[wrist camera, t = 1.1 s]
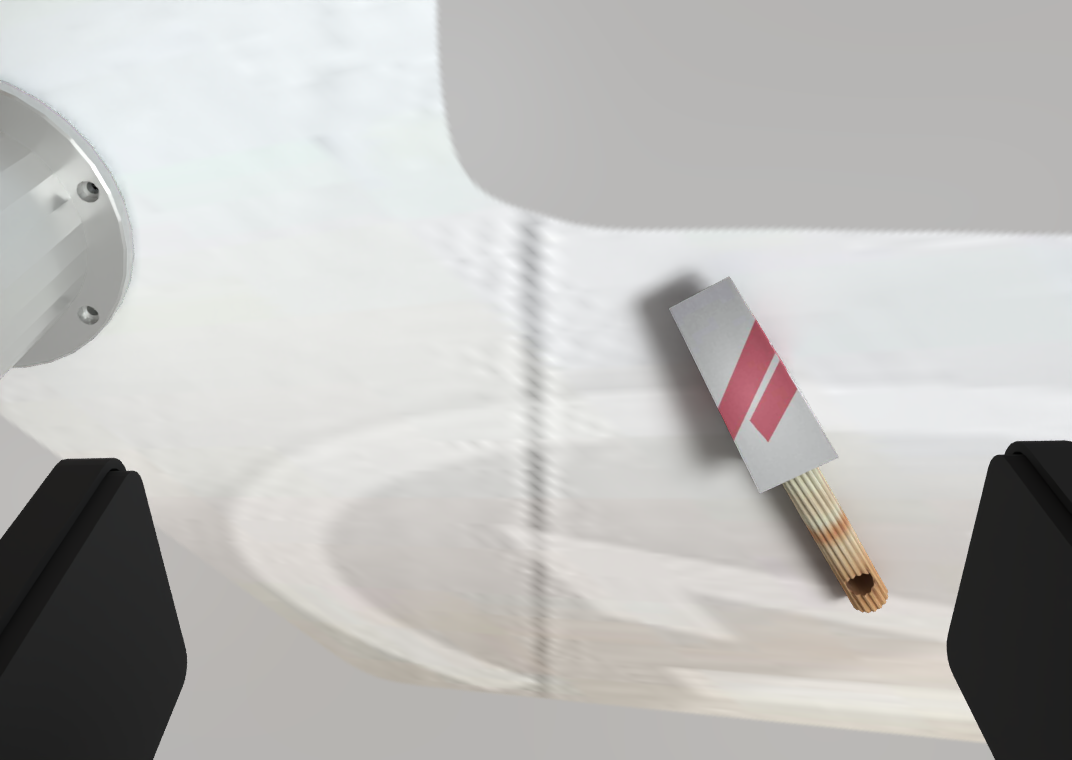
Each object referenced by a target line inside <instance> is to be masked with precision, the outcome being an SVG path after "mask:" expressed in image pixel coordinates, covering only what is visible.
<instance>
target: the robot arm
mask: <svg viewBox="0 0 1072 760" xmlns="http://www.w3.org/2000/svg"><path fill="white" fill-rule="evenodd" d="M91 183H93V184H95V186H96V187H97V188H98V190H96V189H94V188H93V187H92V185H91ZM133 261H134V245H133V233H132V226H131V222H130V219H129V215H128V212H127V208H126V204H125V201H124V198H123V196H122V194H121V192H120V190H119V188H118V186H117V184H116V182H115V180H114V178H113V176H112V174H111V172H110V170H109V169H108V168H107V166H106V165H105V163H104V162H103V161H102V159H101V158H100V156H99V155H98V153H97V152H96V151H95V149H94V148H93V146H92V145H91V144H90V143H89V142H88V141H87V140H86V139H85V138H84V137H83V136H82V135H81V134H80V133H79V132H78V131H77V130H76V129H75V128H74V127H73V126H72V125H71V124H70V123H69V122H68V121H67V120H66V119H65V118H63V117H62V116H61V115H59V114H58V113H57V112H55V111H54V110H53V109H51V108H50V107H49V106H47V105H46V104H45V103H43V102H42V101H41V100H39V99H37V98H36V97H34V96H32V95H30V94H28V93H26V92H24V91H22V90H21V89H19V88H17V87H15V86H13V85H11V84H9V83H7V82H4V81H1V80H0V379H1V378H2V377H3V376H4V375H5V374H6V373H7V372H8V371H9V370H10V369H11V368H26V367H31V366H36V365H41V364H45V363H50V362H53V361H55V360H58V359H60V358H63V357H65V356H67V355H70V354H72V353H74V352H76V351H77V350H78V349H80V348H81V347H83V346H84V345H86V344H87V343H88V342H90V341H91V340H93V339H94V338H95V337H96V336H97V335H98V334H99V332H100V331H101V330H102V329H103V328H104V327H105V326H106V325H107V324H108V323H109V321H110V320H111V319H112V317H113V316H114V314H115V313H116V311H117V310H118V308H119V307H120V305H121V304H122V302H123V300H124V297H125V294H126V292H127V289H128V286H129V284H130V281H131V276H132V268H133ZM93 308H94V309H95V310H94V309H93ZM947 656H948V661H949V665H950V668H951V671H952V673H953V676H954V678H955V680H956V682H957V684H958V686H959V688H960V690H961V692H962V694H963V696H964V698H965V700H966V702H967V704H968V706H969V708H970V710H971V712H972V714H973V716H974V718H975V720H976V722H977V724H978V726H979V728H980V730H981V732H982V734H983V736H984V738H985V740H986V742H987V744H988V746H989V748H990V750H991V752H992V754H993V756H994V758H995V760H1072V442H1071V441H1065V440H1063V441H1016V442H1014V443H1012V444H1010V446H1009V447H1008V448H1007V450H1006V452H1005V455H996V456H994V457H993V459H992V460H991V462H990V464H989V467H988V471H987V475H986V479H985V483H984V488H983V492H982V496H981V500H980V504H979V508H978V512H977V517H976V521H975V525H974V529H973V533H972V537H971V541H970V546H969V550H968V554H967V558H966V562H965V566H964V570H963V574H962V579H961V583H960V587H959V591H958V595H957V599H956V603H955V608H954V612H953V616H952V620H951V624H950V628H949V632H948V637H947ZM186 669H187V654H186V648H185V644H184V640H183V637H182V633H181V629H180V625H179V621H178V617H177V613H176V610H175V606H174V602H173V598H172V594H171V590H170V586H169V582H168V578H167V575H166V571H165V567H164V563H163V559H162V556H161V552H160V547H159V544H158V540H157V536H156V532H155V528H154V524H153V520H152V516H151V513H150V509H149V505H148V501H147V497H146V493H145V489H144V485H143V482H142V479H141V477H140V475H139V474H138V473H137V472H135V471H126V469H125V466H124V465H123V464H122V462H121V461H120V460H118V459H116V458H91V459H65V460H61V461H60V462H59V463H58V464H57V465H56V466H55V467H54V468H53V470H52V471H51V473H50V474H49V475H48V476H47V478H46V479H45V480H44V482H43V483H42V484H41V486H40V487H39V489H38V490H37V491H36V493H35V494H34V495H33V497H32V498H31V499H30V501H29V502H28V503H27V505H26V506H25V507H24V509H23V510H22V511H21V513H20V514H19V515H18V517H17V518H16V520H15V521H14V522H13V523H12V525H11V526H10V527H9V529H8V530H7V531H6V533H5V534H4V535H3V537H2V538H1V539H0V760H153V758H154V756H155V753H156V751H157V748H158V746H159V743H160V741H161V738H162V736H163V733H164V731H165V729H166V726H167V723H168V721H169V719H170V716H171V714H172V711H173V709H174V706H175V704H176V702H177V699H178V697H179V694H180V692H181V689H182V687H183V684H184V680H185V676H186Z"/></svg>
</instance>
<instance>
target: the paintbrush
mask: <svg viewBox="0 0 1072 760" xmlns="http://www.w3.org/2000/svg"><path fill="white" fill-rule="evenodd" d="M669 310H670V312H671V314H672V316H673V318H674V320H675V322H676V324H677V326H678V328H679V330H680V332H681V334H682V336H683V338H684V340H685V342H686V344H687V346H688V348H689V351H690V353H691V355H692V357H693V359H694V361H695V363H696V365H697V367H698V369H699V371H700V373H701V375H702V377H703V379H704V381H705V383H706V385H707V387H708V389H709V391H710V393H711V395H712V397H713V399H714V401H715V404H716V406H717V408H718V410H719V412H720V414H721V416H722V418H723V420H724V422H725V424H726V426H727V428H728V430H729V432H730V434H731V436H732V438H733V440H734V442H735V444H736V446H737V448H738V450H739V452H740V454H741V456H742V459H743V461H744V463H745V465H746V467H747V469H748V471H749V473H750V475H751V477H752V479H753V481H754V483H755V485H756V487H757V489H758V491H759V493H763V492H765V491H767V490H769V489H771V488H773V487H776V486H778V485H780V484H782V485H783V486H784V488H785V490H786V491H787V493H788V495H789V497H790V498H791V500H792V502H793V504H794V505H795V507H796V509H797V511H798V512H799V514H800V516H801V518H802V519H803V521H804V523H805V524H806V526H807V528H808V530H809V531H810V533H811V535H812V536H813V538H814V540H815V542H816V543H817V545H818V547H819V548H820V550H821V552H822V554H823V555H824V557H825V559H826V560H827V562H828V564H829V566H830V567H831V569H832V571H833V572H834V574H835V576H836V578H837V579H838V581H839V583H840V584H841V586H842V588H843V590H844V591H845V593H846V595H847V596H848V598H849V600H850V602H851V603H852V605H853V607H854V608H855V609H856V610H860V611H861V612H866V613H869V612H871V611H873V612H874V611H876V610H877V609H880V608H882V605H883V604H886V599H888V595H887V593H888V590H887V589H886V587H885V585H884V584H883V582H882V580H881V578H880V577H879V575H878V573H877V571H876V570H875V568H874V566H873V564H872V562H871V561H870V559H869V557H868V555H867V553H866V552H865V550H864V548H863V546H862V544H861V542H860V541H859V539H858V537H857V535H856V533H855V532H854V530H853V528H852V526H851V524H850V523H849V521H848V519H847V517H846V516H845V514H844V512H843V510H842V508H841V507H840V505H839V503H838V501H837V499H836V498H835V496H834V494H833V492H832V491H831V489H830V487H829V485H828V483H827V482H826V480H825V478H824V476H823V474H822V473H821V471H820V469H819V466H821V465H823V464H825V463H828V462H830V461H832V460H834V459H836V458H838V455H837V453H836V452H835V450H834V448H833V447H832V445H831V444H830V442H829V440H828V439H827V437H826V435H825V434H824V432H823V429H822V427H821V424H820V423H819V421H818V419H817V418H816V416H815V414H814V413H813V411H812V409H811V408H810V406H809V404H808V403H807V401H806V400H805V398H804V396H803V395H802V393H801V391H800V390H799V388H798V387H797V385H796V383H795V382H794V380H793V379H792V377H791V375H790V374H789V372H788V370H787V369H786V367H785V366H784V364H783V362H782V361H781V359H780V357H779V356H778V354H777V353H776V351H775V349H774V348H773V346H772V345H771V343H770V341H769V340H768V338H767V336H766V335H765V333H764V332H763V330H762V328H761V327H760V325H759V323H758V322H757V320H756V319H755V317H754V315H753V314H752V312H751V311H750V309H749V307H748V306H747V304H746V302H745V301H744V299H743V298H742V296H741V294H740V293H739V291H738V289H737V288H736V286H735V285H734V283H733V281H732V280H731V278H730V277H727V278H725V279H723V280H722V281H720V282H718V283H716V284H714V285H712V286H710V287H708V288H706V289H704V290H703V291H701V292H699V293H697V294H695V295H693V296H691V297H689V298H687V299H685V300H684V301H682V302H680V303H678V304H676V305H674V306H672V307H670V308H669Z"/></svg>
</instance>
